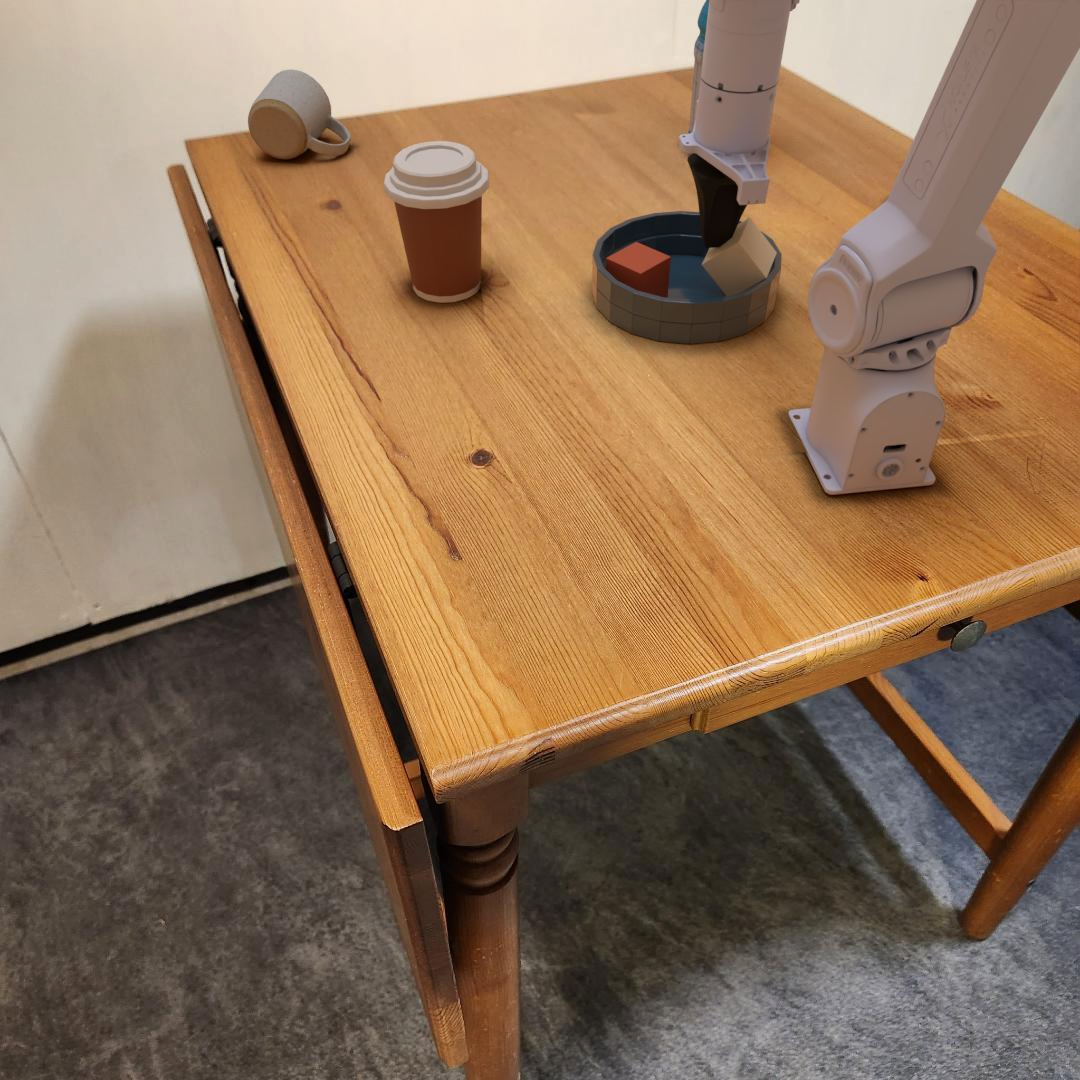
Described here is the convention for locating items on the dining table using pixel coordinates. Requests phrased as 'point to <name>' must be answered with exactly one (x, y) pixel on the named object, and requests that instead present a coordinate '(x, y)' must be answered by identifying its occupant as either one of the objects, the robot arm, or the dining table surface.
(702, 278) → the bowl
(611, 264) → the terracotta block
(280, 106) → the ceramic mug
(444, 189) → the coffee cup
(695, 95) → the beverage bottle
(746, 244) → the cream block
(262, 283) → the dining table surface
